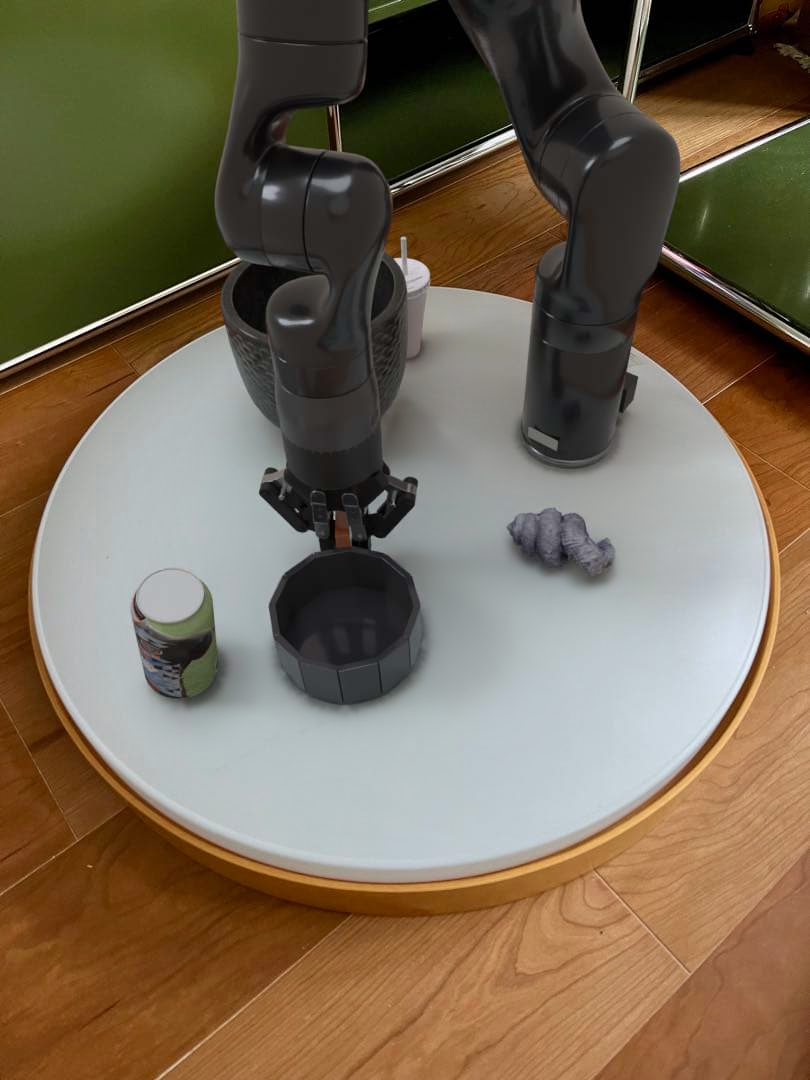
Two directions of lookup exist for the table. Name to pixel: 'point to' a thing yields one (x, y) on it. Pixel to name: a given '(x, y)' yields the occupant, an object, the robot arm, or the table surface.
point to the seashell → (560, 540)
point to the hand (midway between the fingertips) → (346, 556)
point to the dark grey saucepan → (346, 622)
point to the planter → (250, 339)
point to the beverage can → (175, 632)
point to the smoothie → (414, 297)
